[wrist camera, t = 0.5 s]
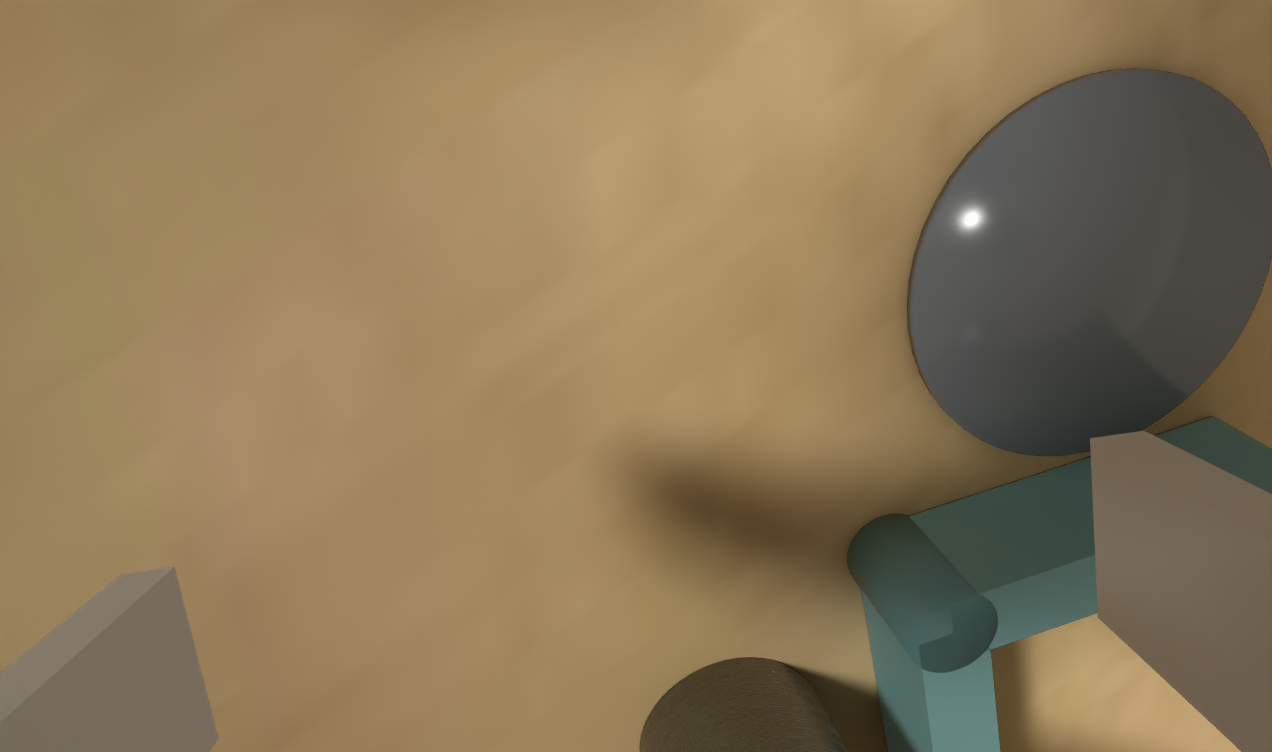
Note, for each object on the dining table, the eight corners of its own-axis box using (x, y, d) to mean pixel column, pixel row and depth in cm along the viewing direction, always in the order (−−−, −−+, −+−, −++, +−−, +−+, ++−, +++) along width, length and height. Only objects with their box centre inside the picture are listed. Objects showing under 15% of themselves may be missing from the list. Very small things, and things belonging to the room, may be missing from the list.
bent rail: (841, 529, 29) (902, 610, 25) (1213, 407, 30) (1323, 468, 26) (890, 815, 34) (946, 915, 30) (1205, 701, 35) (1295, 785, 32)
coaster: (884, 133, 24) (890, 135, 24) (1275, 20, 25) (1287, 21, 25) (928, 495, 29) (934, 502, 29) (1257, 387, 30) (1267, 393, 30)
